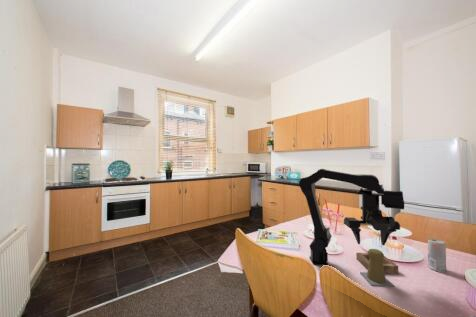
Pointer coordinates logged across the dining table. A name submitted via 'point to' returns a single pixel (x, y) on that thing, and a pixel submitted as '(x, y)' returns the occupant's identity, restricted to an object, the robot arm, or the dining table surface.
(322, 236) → the robot arm
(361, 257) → the walnut frame
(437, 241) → the energy drink
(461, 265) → the dining table surface
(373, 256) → the cork
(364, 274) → the rubber mat
